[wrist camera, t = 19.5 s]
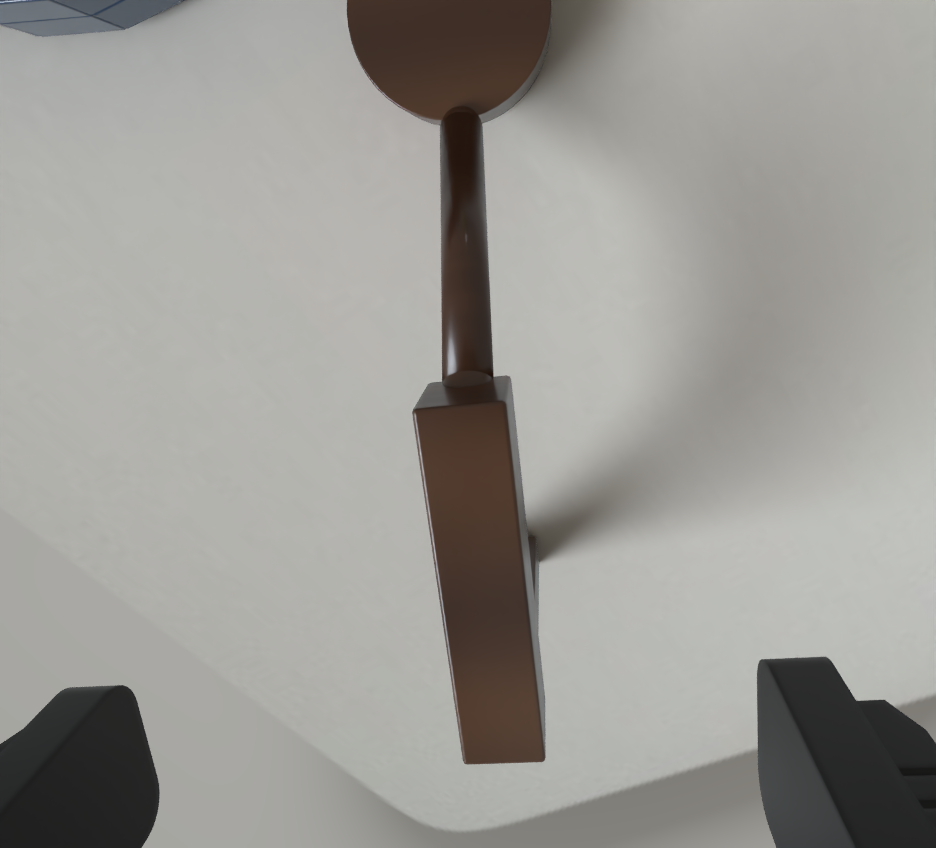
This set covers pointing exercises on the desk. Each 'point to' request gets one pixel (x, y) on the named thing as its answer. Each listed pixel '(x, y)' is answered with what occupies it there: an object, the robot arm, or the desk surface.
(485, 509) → the brown disc on stem
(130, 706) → the robot arm
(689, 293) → the desk surface
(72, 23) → the bowl
